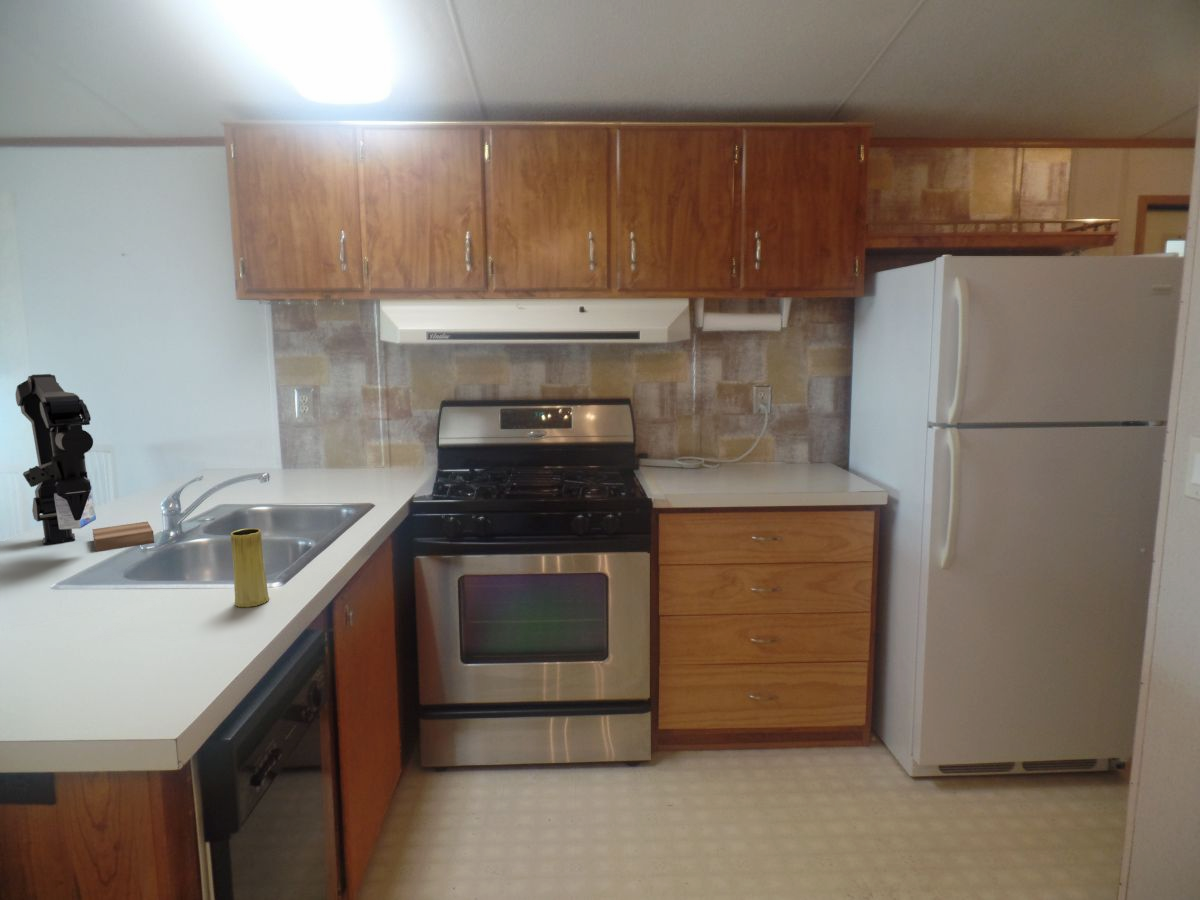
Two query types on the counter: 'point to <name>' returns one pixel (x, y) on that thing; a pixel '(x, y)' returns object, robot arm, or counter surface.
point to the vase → (248, 568)
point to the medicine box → (67, 518)
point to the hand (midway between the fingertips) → (76, 516)
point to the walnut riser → (123, 536)
